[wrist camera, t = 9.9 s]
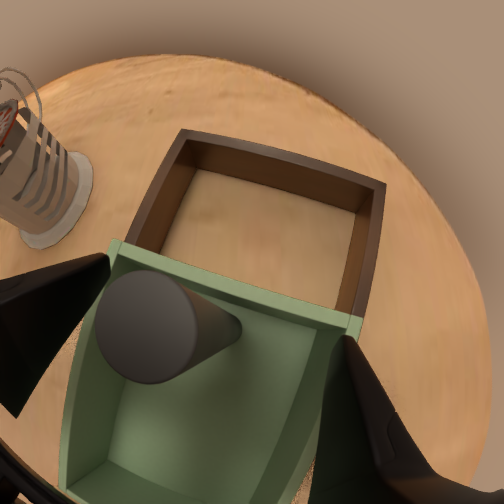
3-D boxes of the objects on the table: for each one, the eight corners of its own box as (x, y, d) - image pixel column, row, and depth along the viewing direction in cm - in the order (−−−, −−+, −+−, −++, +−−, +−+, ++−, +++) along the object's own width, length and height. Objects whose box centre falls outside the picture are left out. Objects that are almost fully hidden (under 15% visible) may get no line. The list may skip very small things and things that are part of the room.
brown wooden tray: (302, 439, 14) (313, 462, 11) (109, 369, 15) (81, 374, 12) (367, 207, 18) (386, 183, 15) (191, 157, 19) (181, 128, 16)
